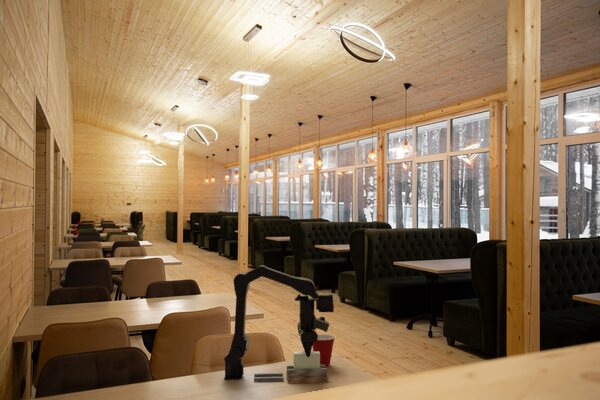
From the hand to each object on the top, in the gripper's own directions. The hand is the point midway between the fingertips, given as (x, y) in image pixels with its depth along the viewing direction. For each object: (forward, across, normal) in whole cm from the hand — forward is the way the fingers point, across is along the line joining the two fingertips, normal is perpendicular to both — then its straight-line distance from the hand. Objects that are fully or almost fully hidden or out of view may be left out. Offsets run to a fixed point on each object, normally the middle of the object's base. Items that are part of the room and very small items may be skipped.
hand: (307, 353), depth 173 cm
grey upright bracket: (+9, 0, +15) cm, 17 cm away
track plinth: (+9, 0, 0) cm, 9 cm away
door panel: (+8, 0, 0) cm, 8 cm away
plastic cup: (+10, +15, -8) cm, 19 cm away
